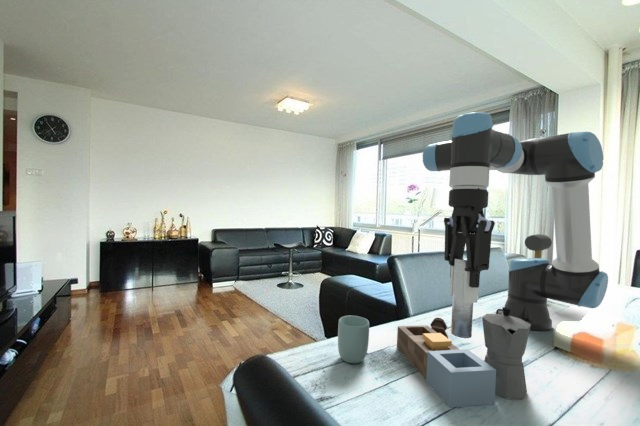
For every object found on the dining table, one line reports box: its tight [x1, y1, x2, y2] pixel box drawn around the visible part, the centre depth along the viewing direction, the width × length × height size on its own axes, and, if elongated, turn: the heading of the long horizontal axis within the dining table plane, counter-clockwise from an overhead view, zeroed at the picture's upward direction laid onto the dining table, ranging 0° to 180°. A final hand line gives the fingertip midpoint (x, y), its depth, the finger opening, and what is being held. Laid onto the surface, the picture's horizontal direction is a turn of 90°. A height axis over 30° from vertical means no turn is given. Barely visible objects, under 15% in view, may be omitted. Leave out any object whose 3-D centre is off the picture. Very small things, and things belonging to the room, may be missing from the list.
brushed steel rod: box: [450, 257, 474, 339], centre depth 66 cm, size 4×4×16 cm
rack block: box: [425, 348, 496, 408], centre depth 66 cm, size 10×9×7 cm
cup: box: [337, 315, 370, 364], centre depth 79 cm, size 8×8×10 cm
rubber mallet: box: [524, 233, 552, 259], centre depth 141 cm, size 12×8×30 cm, turn 125°
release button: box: [423, 333, 453, 350], centre depth 75 cm, size 5×5×7 cm
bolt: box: [430, 317, 449, 339], centre depth 96 cm, size 6×5×15 cm
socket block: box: [396, 324, 461, 380], centre depth 79 cm, size 9×16×6 cm, turn 10°
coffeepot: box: [481, 306, 531, 401], centre depth 69 cm, size 15×9×18 cm, turn 159°
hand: (463, 298), depth 66 cm, fingers closed on brushed steel rod, 4 cm apart
